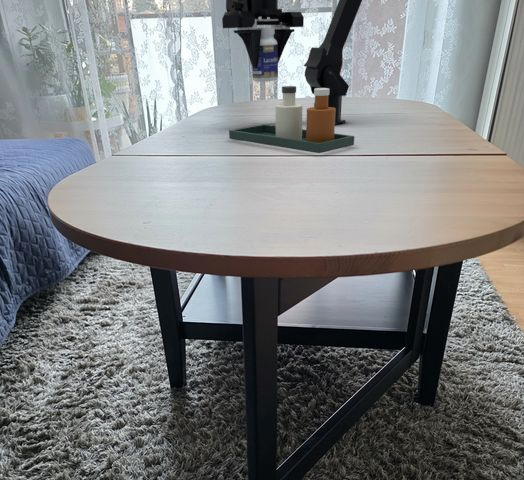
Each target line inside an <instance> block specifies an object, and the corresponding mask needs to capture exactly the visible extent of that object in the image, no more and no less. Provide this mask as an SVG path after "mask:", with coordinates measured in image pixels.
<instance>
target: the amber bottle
mask: <svg viewBox="0 0 524 480" xmlns="http://www.w3.org/2000/svg"><path fill="white" fill-rule="evenodd" d="M313 95H314V103H315V107H314V106H311V107H308V108H306V125H305V126H306V129H305V130H306V141H308V142H315V143H322V142H326V141H331V140H334V133H335V130H336V129H335V127H336V124H335V111H336V109H335V108H333V107H328V95H329V88H316V89H314V94H313Z"/></svg>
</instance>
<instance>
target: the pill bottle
mask: <svg viewBox="0 0 524 480" xmlns="http://www.w3.org/2000/svg"><path fill="white" fill-rule="evenodd" d="M257 30H261V40H260V49H259V59H258V65H257V68H253V67H252V66H251V73H252V75H251V76H252V77H251V78H252V80H253V81H254V82H273V81H277V80H278V79H279V63H278V49H277V41H276V40H275V39H274V34H275V28H274V27H273V28H271V27H257Z"/></svg>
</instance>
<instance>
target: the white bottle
mask: <svg viewBox="0 0 524 480" xmlns="http://www.w3.org/2000/svg"><path fill="white" fill-rule="evenodd" d="M281 93H282V104H281V103H280V104H276V105H275V108H274V109H275V113H274V114H275V126H276V137H281V138H288V139H295V140H302V129H303V108H304V107H303V104H300V103H296V93H297V86H295V85H285V86H281Z"/></svg>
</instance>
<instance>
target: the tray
mask: <svg viewBox="0 0 524 480" xmlns="http://www.w3.org/2000/svg"><path fill="white" fill-rule="evenodd" d="M228 138H229V139H230V140H231V139H232V140H237V141H243V142H247V143H248V142H249V143H256V144H262V145H267V146H273V147H280V148H285V149H292V150H298V151H303V152H309V153H316V154H321V153H325V152H330V151H334V150H339V149H342V148H346V147H350V146H354V145H355V135H350V134H344V133H343V134H342V133H336V132H334V140H331V141H326V142H322V143H315V142H308V141H306V129H303V128H302V140H295V139H288V138H281V137H276V125H272V124H265V123H264V124H258V125H252V126H247V127H240V128H235V129H229V130H228Z"/></svg>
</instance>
